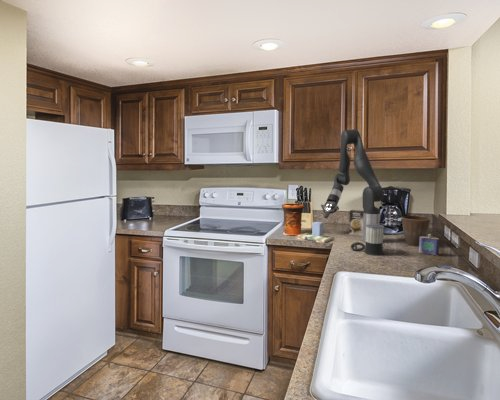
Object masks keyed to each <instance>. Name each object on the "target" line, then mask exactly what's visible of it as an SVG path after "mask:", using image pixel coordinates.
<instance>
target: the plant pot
mask: <svg viewBox="0 0 500 400" xmlns="http://www.w3.org/2000/svg"><path fill="white" fill-rule="evenodd" d="M430 221H431V218H430V217H428V216H423V215H422V216H420V215H403V216H401V225H402V230H403V236H404V238H405V241H406V244H407V245H408V246H411V247H419V242H420V237H427V233H428V229H429V227H430V226H429V225H430Z"/></svg>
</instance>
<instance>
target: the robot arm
mask: <svg viewBox="0 0 500 400" xmlns="http://www.w3.org/2000/svg"><path fill="white" fill-rule="evenodd" d="M362 140H363V139H362V137H361V134H360V131H359V130H358V129H344V130H342V132H341V134H340V147H339V148H340V157H339V163H338V171H339V172H337V173H336V174H335V175H334V179H333V187H332V188H331V190H330V192H329V194H328V197H327V199H326V202H325V203H324V204H320V206H321V207H320V208H321V209H322V211H323V213H324V214H323V218H325V219H328V218H329V216H330V215H331V214H332V215H333V214H334V213H336V212H338V211H339V210H340V207H339V206H338V204H339V202H340V200H341V197H342V194H343V191H344V189H345V187H344V186H347V185H349V184H350V181H351V177H350V167H351V158H350V155H349V153H348V150H347V149H348V145H354V148H355V153H354V156H353V165H354V168H355V171H356V173H357V174H358V175H359V176H360V177H361V178H362V179H363V180H364V181H366V183H367V184H368V186H366V187H365V188H364V189H363V190H362V209H363V210H362V211H364V216H363V236H362V242H365V243H366V225H368V224H376V225H380V218H381V217H380V216H381V209H380V208H378V207H376V206H375V203H377V202H381V201H383V200H384V197H385V194H384V193H385V192H384V190H383V188H382V185H381V184H380V182H379V180H378V178H377V176H376V174H375V172H374V170H373V167H372V164H371V161H370V160H369V159H370V158H369V157H368V155H367V153H366V149H365V147H364V144H363V141H362Z"/></svg>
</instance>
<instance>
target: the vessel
mask: <svg viewBox="0 0 500 400" xmlns="http://www.w3.org/2000/svg"><path fill="white" fill-rule="evenodd" d="M281 208H282V212H283V224H284V226H283V227H284V231H283V232H282V233H283V235H288V236H298V235H301V234H303V233H302V218H303V216H302V214H303V210H304V204H301V203H296V202H295V203H283V204H281Z"/></svg>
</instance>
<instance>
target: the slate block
mask: <svg viewBox="0 0 500 400" xmlns="http://www.w3.org/2000/svg"><path fill="white" fill-rule="evenodd" d="M311 225H312V226H311V228H312V229H311V235H313V236H322V235H324V222H320V221H314V222H312V223H311Z"/></svg>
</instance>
